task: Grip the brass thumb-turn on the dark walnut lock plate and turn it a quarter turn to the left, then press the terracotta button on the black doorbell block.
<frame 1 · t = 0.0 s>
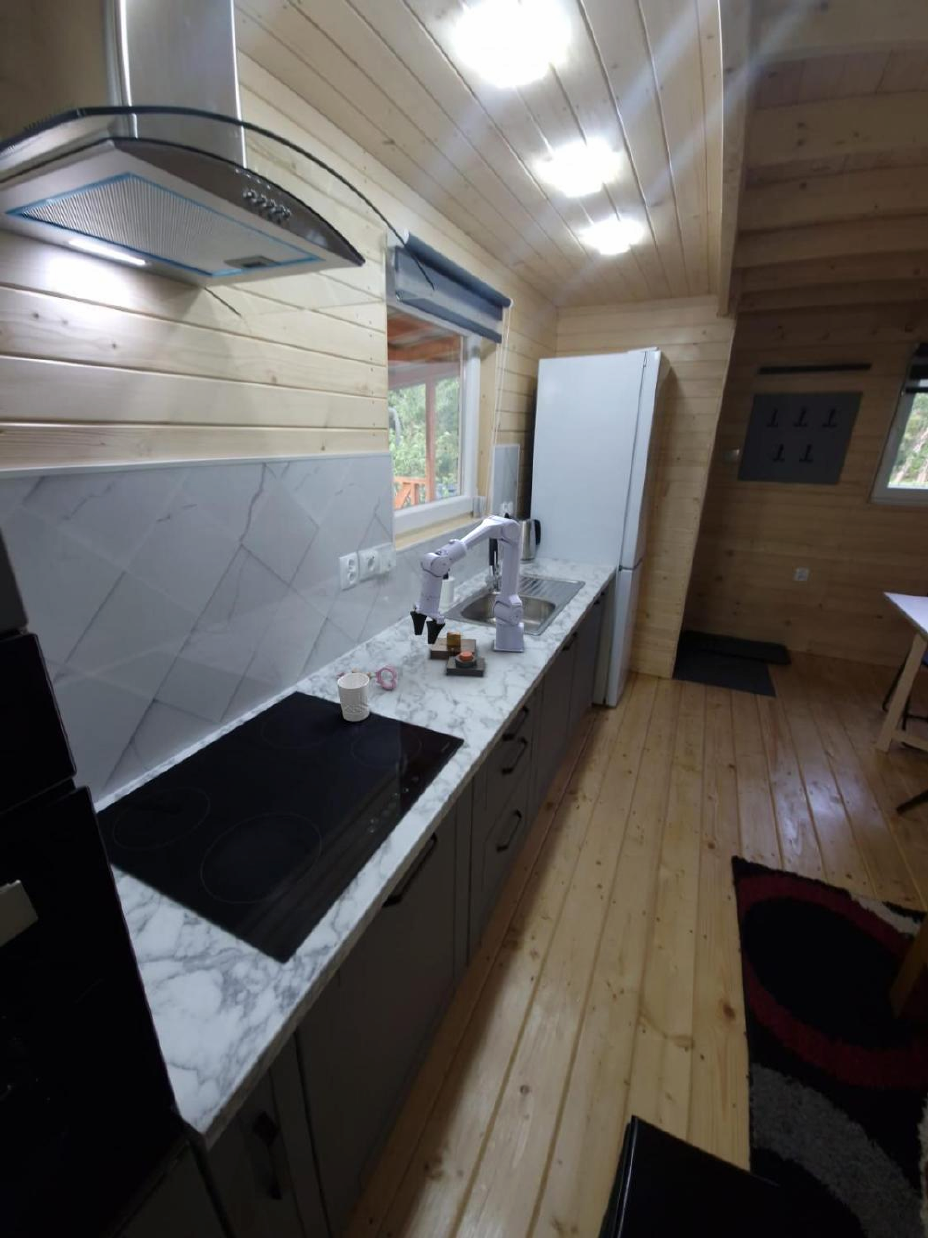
hand: (424, 639, 146), 11 cm above the worktop, tool pointing down, fingers open, 7 cm apart
white cup: (356, 715, 128), on the worktop
decorative key: (365, 684, 143), on the worktop
lock knob: (453, 638, 160), point 5 cm above the worktop, hinge at 0.0°
bell button: (466, 656, 150), point 4 cm above the worktop, slide at 0.1 cm
doorbell: (465, 669, 151), on the worktop
lock plate: (453, 652, 162), on the worktop
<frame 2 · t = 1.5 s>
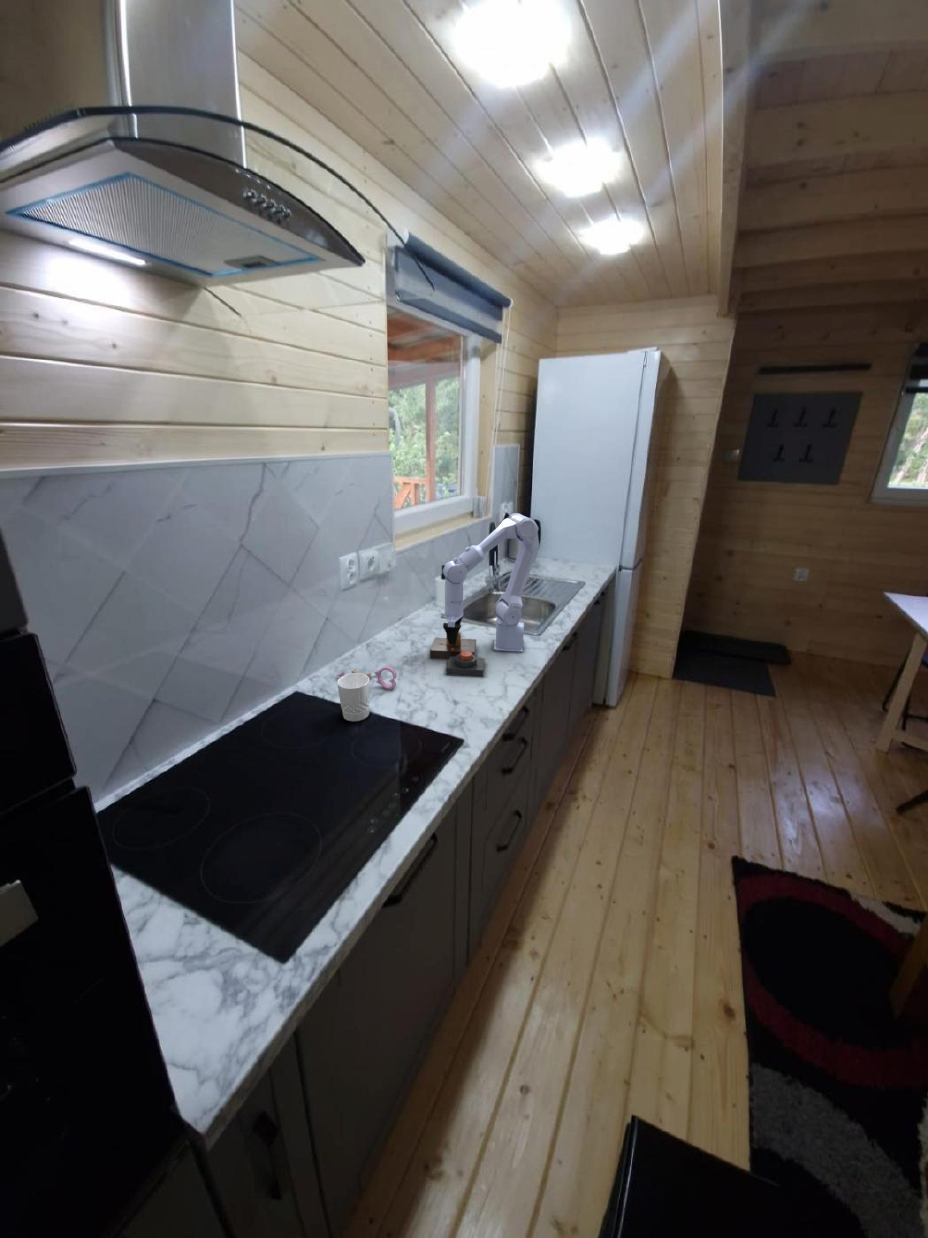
hand: (453, 639, 160), 5 cm above the worktop, tool pointing down, fingers open, 7 cm apart
nothing on the worktop moved.
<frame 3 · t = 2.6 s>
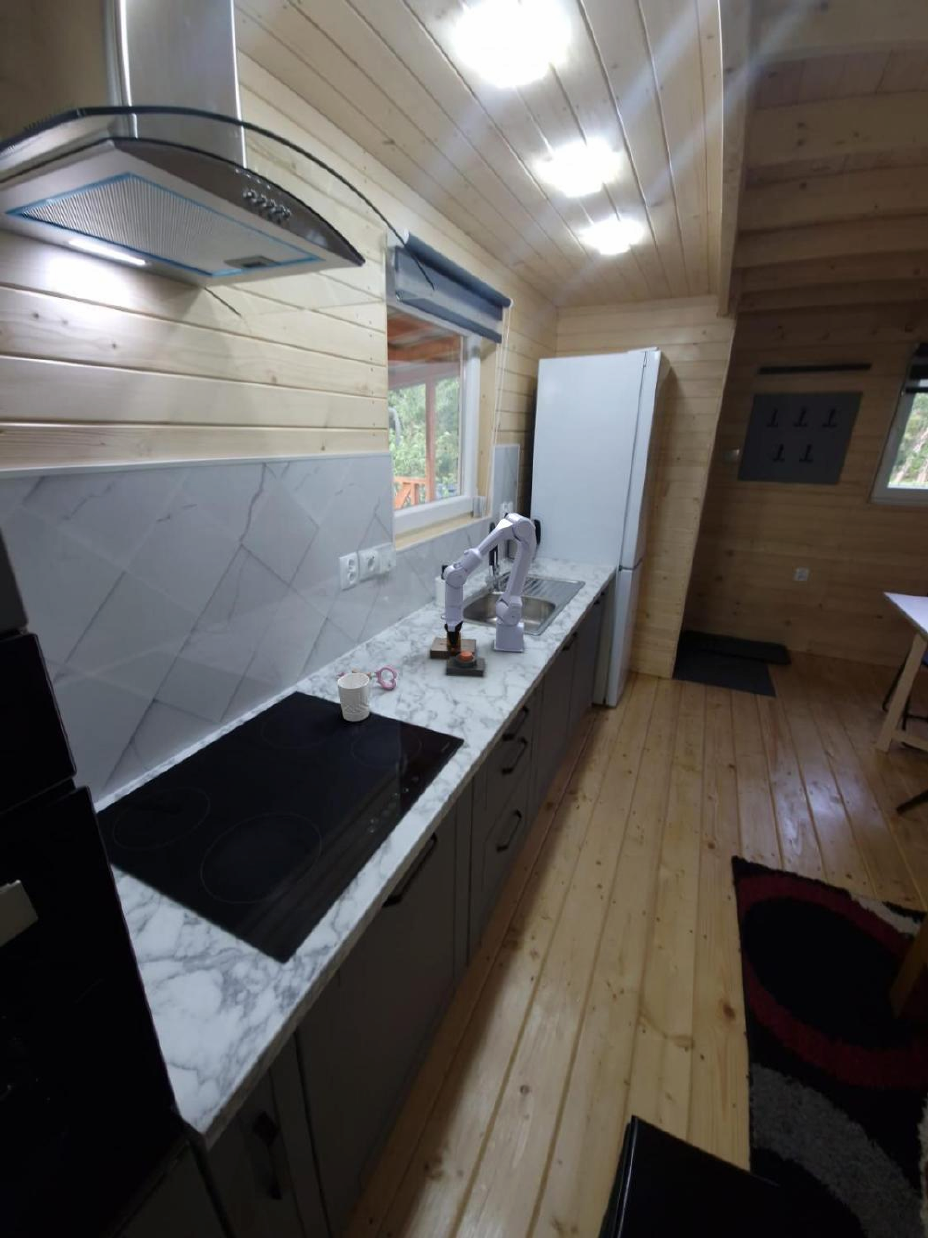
hand: (453, 643, 161), 4 cm above the worktop, tool pointing down, fingers closed on lock knob, 2 cm apart
lock knob: (453, 638, 160), point 5 cm above the worktop, hinge at -0.1°, touching gripper
everything else where it was.
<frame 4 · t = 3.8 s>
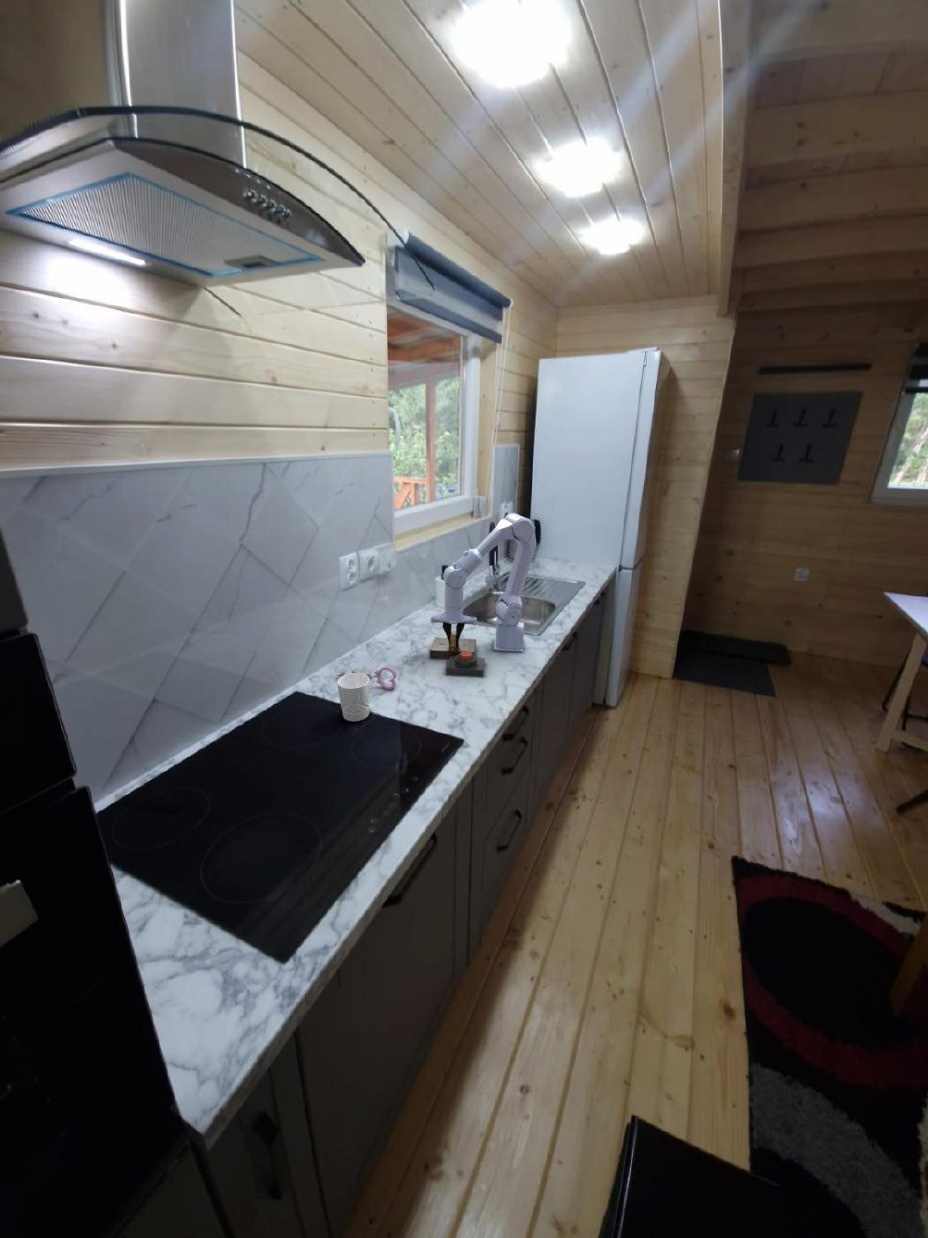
hand: (453, 643, 161), 3 cm above the worktop, tool pointing down, fingers closed on lock knob, 2 cm apart
lock knob: (453, 638, 160), point 5 cm above the worktop, hinge at 90.1°, touching gripper
everything else where it was.
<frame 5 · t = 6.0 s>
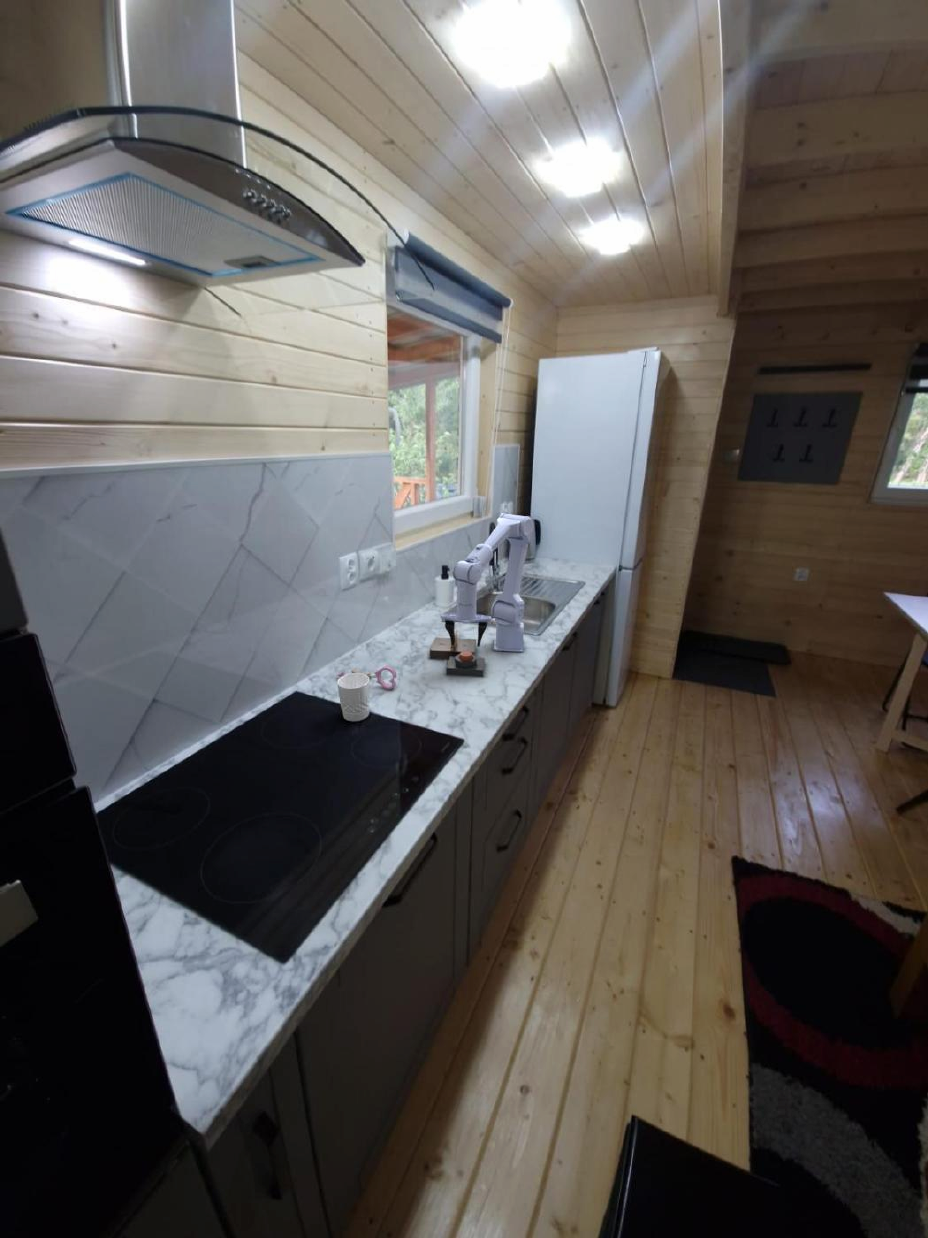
hand: (465, 644, 149), 8 cm above the worktop, tool pointing down, fingers open, 7 cm apart
lock knob: (453, 638, 160), point 5 cm above the worktop, hinge at 90.1°
everything else where it was.
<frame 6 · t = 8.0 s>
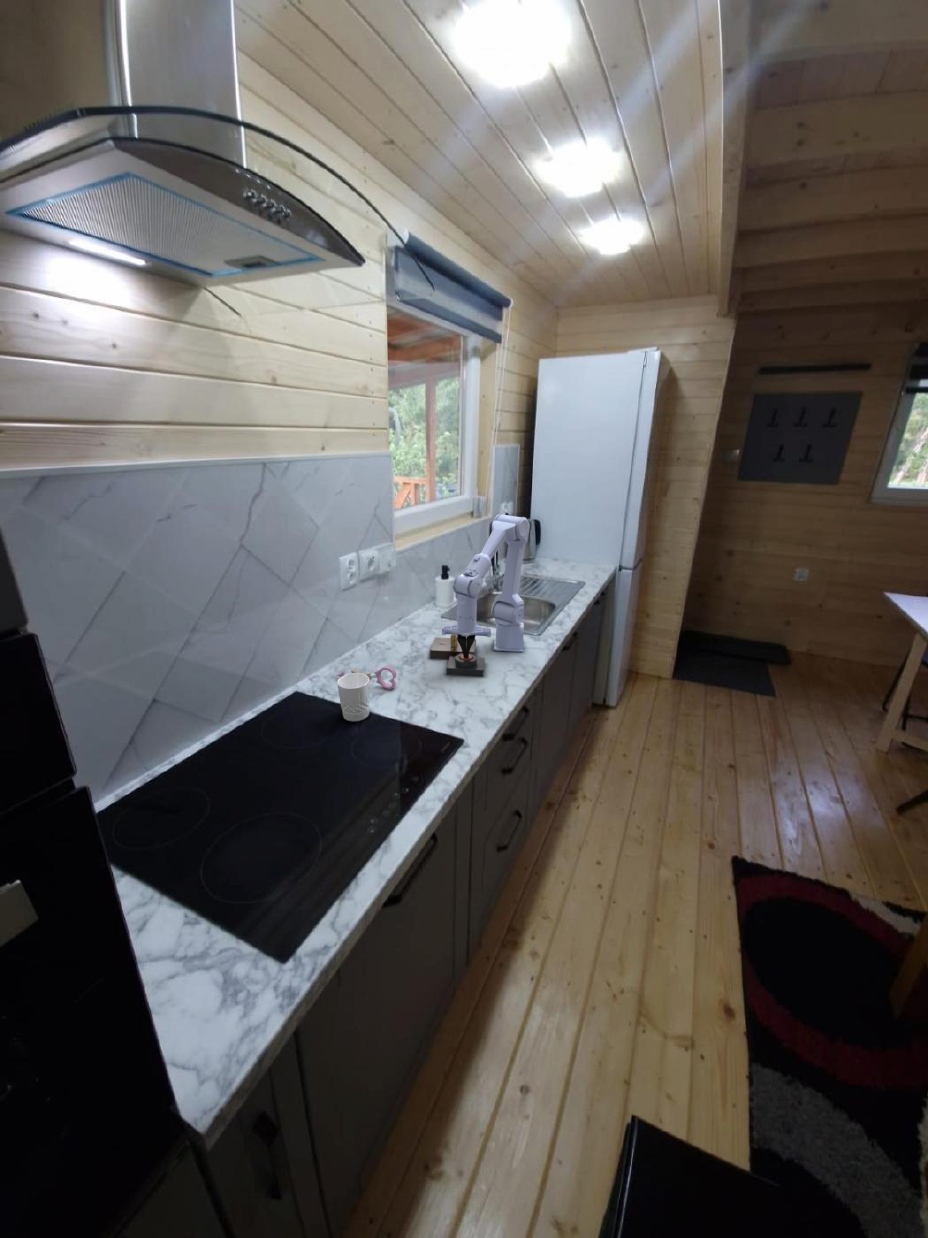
hand: (466, 656, 150), 4 cm above the worktop, tool pointing down, fingers closed, pressing on bell button
bell button: (466, 659, 150), point 3 cm above the worktop, slide at -0.9 cm, touching gripper
everything else where it was.
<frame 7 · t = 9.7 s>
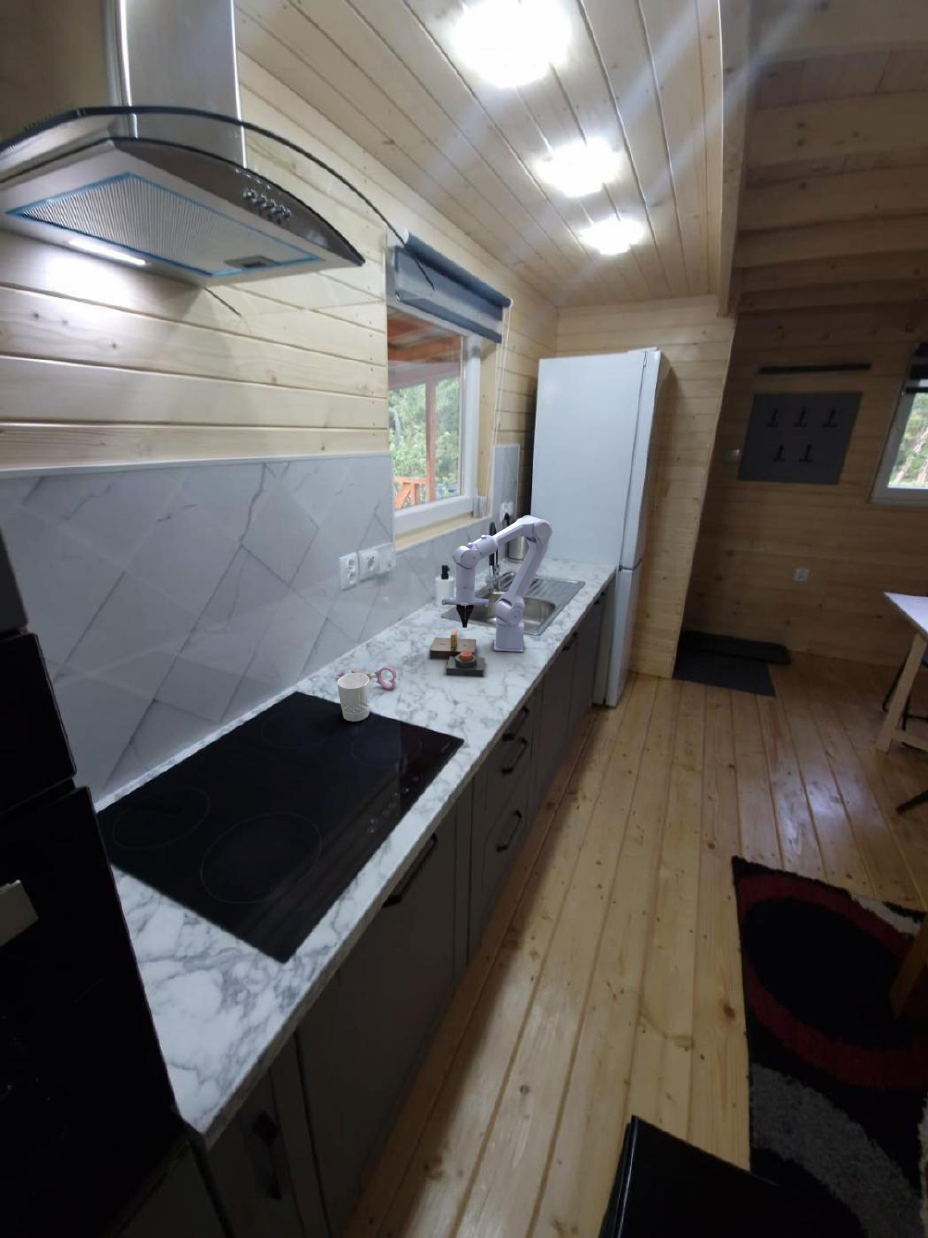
hand: (464, 626, 157), 10 cm above the worktop, tool pointing down, fingers closed
bell button: (466, 656, 150), point 4 cm above the worktop, slide at 0.1 cm
everything else where it was.
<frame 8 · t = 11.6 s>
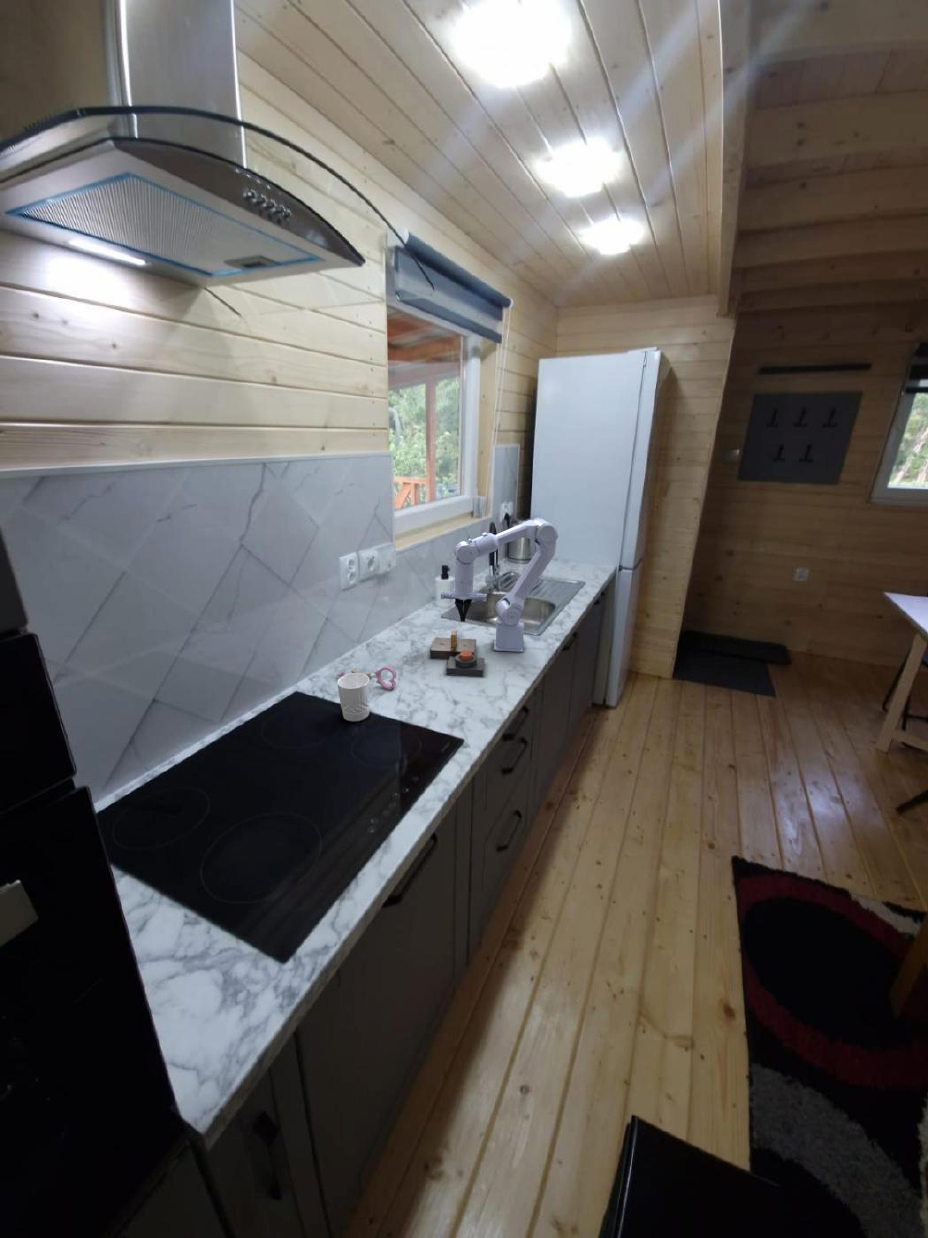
hand: (462, 620, 161), 10 cm above the worktop, tool pointing down, fingers closed
nothing on the worktop moved.
at the end: lock knob at +90° (first picture: +0°); bell button pushed in 1.2 cm at the most during the clip, back to where it started at the end; bell button slide at 0.1 cm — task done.
